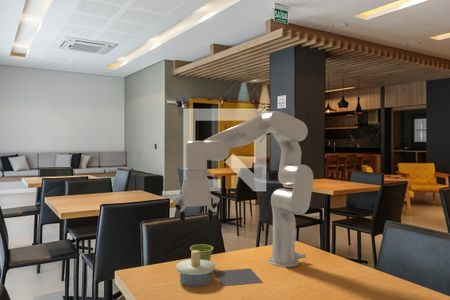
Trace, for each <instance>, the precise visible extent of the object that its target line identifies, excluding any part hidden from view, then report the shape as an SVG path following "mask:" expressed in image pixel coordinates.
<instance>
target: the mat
mask: <svg viewBox="0 0 450 300" xmlns="http://www.w3.org/2000/svg"><path fill="white" fill-rule="evenodd" d="M213 273H214V274H215V276H216V278H217V279H218V281H219V282H220V284H221V286H222V287H231V286H232V287H233V286H242V285H253V284H254V285H255V284H263V283H264V282H263V280H261V278H260V277H259V276H258V275H257V274H256V273H255V272H254V271H253V269H251V268H236V269H224V270H214V271H213Z"/></svg>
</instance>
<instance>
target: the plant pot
mask: <svg viewBox="0 0 450 300" xmlns="http://www.w3.org/2000/svg"><path fill="white" fill-rule="evenodd" d="M189 250H190V251H194V250H198V251H200V259H203V260H208V261H211V256H212V252H213V251H214V246H212V245H209V244H203V243H201V244H193V245H191V246H190V247H189Z"/></svg>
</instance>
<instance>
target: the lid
mask: <svg viewBox="0 0 450 300" xmlns="http://www.w3.org/2000/svg"><path fill="white" fill-rule="evenodd" d="M190 251H191V250H190ZM190 255H191V256H190V258H191V259H186V260H182V261H179V262H177V263H176V265H175V267H176V268H175V269H176V272H178V273H179V274H180V273H182V274H187V275H202V274H207V273H210V272H211V273H212V272H214V271H215V268H216V265H215V263H214V262H212V261H211V260H210V261H208V260H203V259H200V251H198V250H194V251H191V254H190Z"/></svg>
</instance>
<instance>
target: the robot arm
mask: <svg viewBox="0 0 450 300" xmlns="http://www.w3.org/2000/svg"><path fill="white" fill-rule="evenodd" d="M308 131H309V130H308V127H307V124H306V123H305V122H304V121H302V120H300V119H298V118H297V117H293V116H292V115H290V114H287V113H285V112H282V111H279V110H272V111H265V112H260V113H258V114H256V115H255V116H253V117H251V118H248V119H247V120H245V121H243V122H241V123H239V124H237V125H235V126H233V127H230V128H228V129H226V130H223V131H221V132H217V133H216V134H214V135H212V136H210V137H208V138H206V139H204V140H188V141H187V142H186V144H185V148H186V149H185V157H186V158H185V178H183V181H182V189H181V190H182V192H181V194H180V195H178V196H176V197H174V198H173V199H172V203H173V205H174V207H175V208H176V209H177V210H178V212H179V221H181V223H182V224H185V219H186V218H185V217H186V215H185V213H186V212H185V209H186V208H187V207H189V208H191V207H206V208H208V209H207V216H206V217H207V221H208V222H209V223H211V222H212V220H213V211H214V210H215V208H216V207H218V204H219V202H220V200H221V198H220V197H218V196H217V195H214V194H212V193H211V187H210V180H209V177H208V176H211V174H212V173H211V171H208V161H215V162H216V161H218V162H219V161H223V160H226V159H227V157H228V156H229V154H230V149H233V148H238V147H239V148H240V147H244V146H246V145H250V144H251V143H253V142H255V141H256V140H259V139H260V138H262V137H264V136H265V135H267V134H271V133H272V136H273V138H274V139H275V140H276V141H277V143H278V146H279V148H280V150H281V151H280V162H279V168H278V174H277V179H278V182H279V183H280V184H281V185H284V186H287V187H292V189H290V188H289V189H288V188H277V189H275V190H274V191H273V192H272V194H271V197H270V205H271V211H272V251H271V252H272V256H270V257H269V258H268V262H269V264H271V265H273V266H276V267H280V268H281V267H283V268H294V267H297V266H298V265H299V259H306V258H307V254H306V253H301V252H296V225H297V224H296V217H295V215H298V216H300V215H304V214H305V213H307V211H308V210H309V208H310V204H311V199H312V191H313V187H314V173H313V170H312V169H311V167H309V166H308V165H306V164H301V163H302V162H301V161H302V149H301V146H300V143H299V142H301V141H304V140H305V139H306V137H307V136H308V133H309V132H308ZM211 199H213V200H214V202H213V203H212V204H211V202H212V201H211ZM178 201H181V203H182V204H181V206H180V205H179V203H178Z"/></svg>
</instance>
